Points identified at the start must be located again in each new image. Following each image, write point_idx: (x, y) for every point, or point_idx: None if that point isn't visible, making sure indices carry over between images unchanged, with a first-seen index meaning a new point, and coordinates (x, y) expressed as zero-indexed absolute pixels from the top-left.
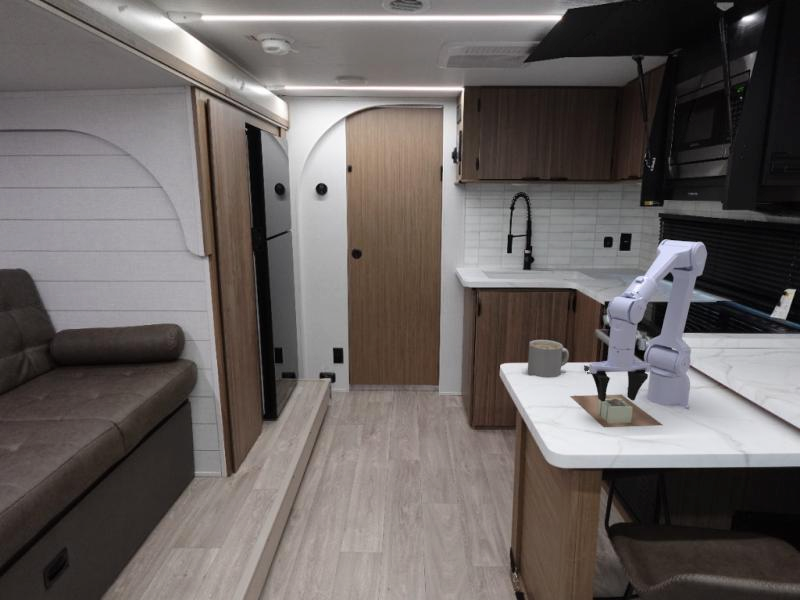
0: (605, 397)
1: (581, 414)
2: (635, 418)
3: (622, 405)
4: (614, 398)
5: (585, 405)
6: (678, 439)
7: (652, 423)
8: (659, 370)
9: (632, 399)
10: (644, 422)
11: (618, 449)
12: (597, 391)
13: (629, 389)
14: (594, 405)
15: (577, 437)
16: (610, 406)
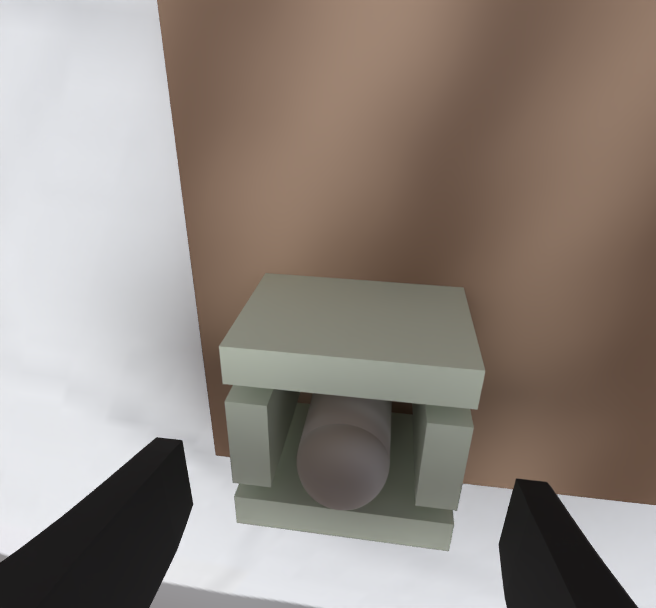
0: (169, 558)
1: (163, 189)
2: (531, 393)
3: (418, 450)
4: (404, 365)
5: (222, 77)
6: None
7: (595, 476)
8: None
9: (501, 560)
10: (547, 455)
11: (219, 575)
12: (98, 490)
13: (546, 593)
14: (320, 86)
15: (57, 463)
16: (251, 503)
